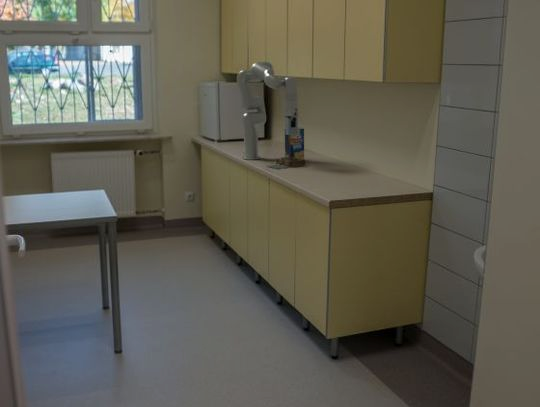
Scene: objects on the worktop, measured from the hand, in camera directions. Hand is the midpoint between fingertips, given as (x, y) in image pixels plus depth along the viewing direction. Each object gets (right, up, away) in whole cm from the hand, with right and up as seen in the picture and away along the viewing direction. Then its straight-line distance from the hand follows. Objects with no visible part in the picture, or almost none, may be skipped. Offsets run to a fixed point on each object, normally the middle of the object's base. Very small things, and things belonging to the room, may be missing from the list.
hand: (291, 126), depth 377 cm
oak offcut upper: (-3, -20, +14) cm, 25 cm away
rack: (0, -23, +10) cm, 25 cm away
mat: (-9, -25, +2) cm, 27 cm away
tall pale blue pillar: (0, -5, +1) cm, 5 cm away
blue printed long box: (+3, -20, +24) cm, 32 cm away
